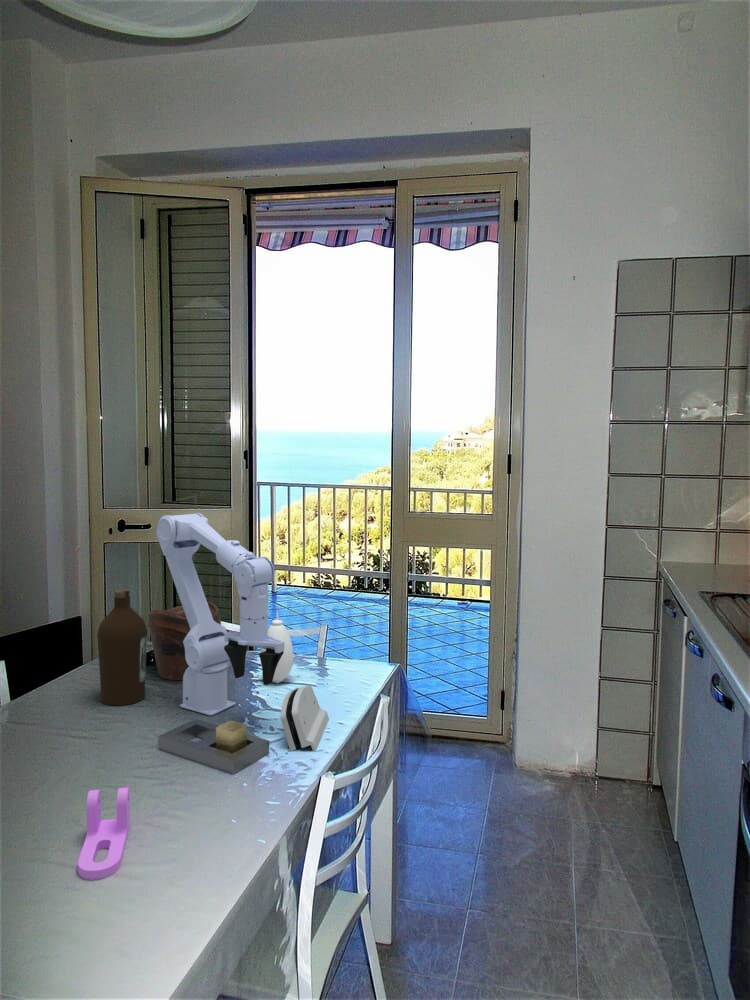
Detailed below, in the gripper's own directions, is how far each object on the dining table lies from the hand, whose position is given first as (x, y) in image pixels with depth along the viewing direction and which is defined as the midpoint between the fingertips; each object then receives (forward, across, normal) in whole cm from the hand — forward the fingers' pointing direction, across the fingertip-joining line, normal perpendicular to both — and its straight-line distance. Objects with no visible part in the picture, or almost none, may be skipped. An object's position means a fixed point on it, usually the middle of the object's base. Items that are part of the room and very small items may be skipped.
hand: (253, 680), depth 146 cm
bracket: (+10, +12, -47) cm, 49 cm away
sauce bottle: (+10, -12, +23) cm, 28 cm away
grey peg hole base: (+9, +2, -14) cm, 17 cm away
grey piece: (+10, +12, +2) cm, 15 cm away
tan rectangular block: (+10, +6, -14) cm, 18 cm away
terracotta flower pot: (+10, -36, +16) cm, 41 cm away
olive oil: (+10, -34, -5) cm, 36 cm away
